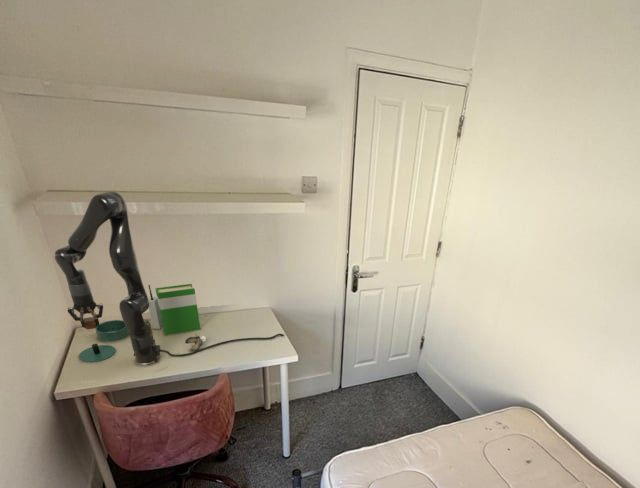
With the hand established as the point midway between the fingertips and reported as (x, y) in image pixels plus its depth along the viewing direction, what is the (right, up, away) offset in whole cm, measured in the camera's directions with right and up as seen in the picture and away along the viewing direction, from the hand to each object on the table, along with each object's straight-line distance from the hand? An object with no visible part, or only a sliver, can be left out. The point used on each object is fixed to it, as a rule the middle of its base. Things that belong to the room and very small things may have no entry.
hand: (91, 326), depth 178 cm
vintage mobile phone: (+13, +2, +35) cm, 37 cm away
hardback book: (+26, +1, +35) cm, 43 cm away
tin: (-4, -3, +23) cm, 24 cm away
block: (0, 0, 0) cm, 0 cm away
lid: (-2, -13, +7) cm, 15 cm away
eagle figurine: (+40, -9, +21) cm, 46 cm away
